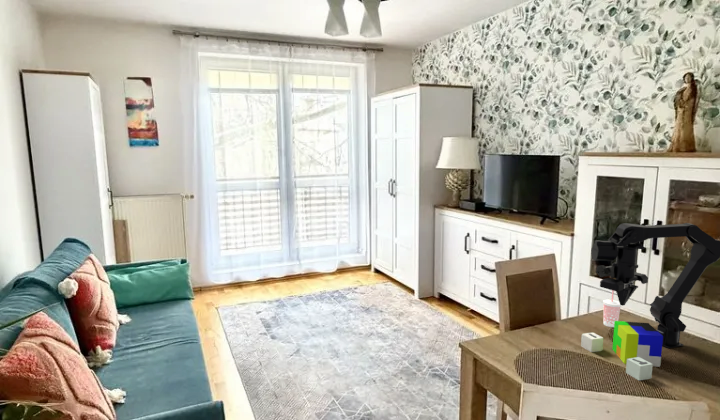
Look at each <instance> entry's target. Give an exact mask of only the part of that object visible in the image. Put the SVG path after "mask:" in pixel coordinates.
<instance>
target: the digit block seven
mask: <svg viewBox="0 0 720 420" xmlns="http://www.w3.org/2000/svg"><path fill="white" fill-rule="evenodd" d="M625 366H626V367H625V373H626V374H627V375H629V376H631V377H632V378H633V379H635V380H637V381H645V380H649V379H652V378H653V377H652V375H653V367H654V366H653V364H651V363H650V362H648V361H646V360H644V359H642V358H640V357H636V358H630V359H627V364H625Z"/></svg>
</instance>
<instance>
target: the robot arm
mask: <svg viewBox="0 0 720 420" xmlns="http://www.w3.org/2000/svg"><path fill="white" fill-rule="evenodd" d="M680 237H682V238H683V237H685V238H686V239H687V240H688V241H689V242H690V243H691V244H692V247H691V248H690V258H689V260H688V261H687V263H686V265H685V266H684V267H683V269H682V270H681V272H680V274H679V275H678V277H677V278H676V279H675V280H674V283H673V284H672V285H671V287H670V289H669V290H668V291H667V293H666V294H665V295H663V296H662V297H661V296H659V295H655V297H654V300H653V302H652V303H650V304H649V306H650V308H649V311H650V314H651V316H652V317H653V318H654V320H655V322H657V323H658V325H657V328H656V330H657V331H658V332H659V333H660V334H661V335H662V336H663V343H662V347H666V348H668V349H673V348H678V347H679V348H680V347H684V343H681V342H680V339H681V337H680V336H681V332H682V333H683V332H685V331H686V328H687V325H686V324H684V322H683V321H682V320H680V317H681V314H682V308H683V302H684V301H685V299H686V297H687V296H688V295H689V293H690V292H691V291H692V289H693V288H694V286H695V285H696V283H697V282H698V280H699V279H700V278H701V276H702V274H703V273H704V272H705V270H706V269H707V268H708V266H710V265H712V264H714V263H716V262H717V261H718V260H720V240H718V239H715V238H714V237H712V236H711V235H710V234H708V233H706V232H705V231H704V230H702V229H701V228H700V227H699V226H697V224H693V223H690V222H685V223H677V224H676V223H675V224H673V223H671V224H656V225H655V224H654V225H643V224H637V223H627V222H625V223H624V222H623V223H620V224H619V225H618V226H617V227H616V229H615V232H614V233H612V235H611V236H610V237H609V238H608V239H607V240H599V239H598V240H597V239H596V240H594V244H592V247H591V253H590V254H591V257H592V259H593V261H603V262H604V261H605V262H606V261H607V262H608V261H609V262H611V261H614V260H615V262H613V263H612V264H611V265H609V266H605V264H604V265H596V271H595V273H596V274H597V275H598V276H599V278H603V279H601V280H600V282H599V288H603V289H607V290H610V291H612V290H613V291H614V292H615V293H616V295H617V299H618V301H619V302H620V305H621V307H622V306H625V305H626V304H627V303H628V301H629V299H630V298H631V296H632V295H633V294H634V292H635V291H636V290H637V289H638V288H639V285H635V282H637V281H638V282H640V283H641V284H642V285H646V284H648V282H649V277H648V276H647V274H644V273H640V272H636V269H639V264H636V263H637V254H638V250H644V249H645V247H644V246H643V245H642V244H641V242H645V241H647V240H650V239H659V238H660V239H661V238H665V239H666V238H680ZM604 277H606V278H604Z"/></svg>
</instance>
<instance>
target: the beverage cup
mask: <svg viewBox="0 0 720 420" xmlns="http://www.w3.org/2000/svg"><path fill="white" fill-rule="evenodd" d="M611 291H612V293H611V299H609V298H608V299H607V298H606V299H603V300H602V304H603V321H602V322H603V326H606V327H608V328H614V322H615V321H619V319H620V313H621V312H620V311H621V307H622V305H620V302H619V300H615V299H614V292H615V291H613V290H611Z"/></svg>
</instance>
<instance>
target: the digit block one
mask: <svg viewBox="0 0 720 420" xmlns="http://www.w3.org/2000/svg"><path fill="white" fill-rule="evenodd" d="M580 338H581V341H580V347H582V348H583V349H585V350H586V351H588V352H590V353H595V352H601V351H603V350H604V349H603V347H604V337H603V336H601V335H599V334H597V333H596V332H585V333H582V334H581V337H580Z"/></svg>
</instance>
